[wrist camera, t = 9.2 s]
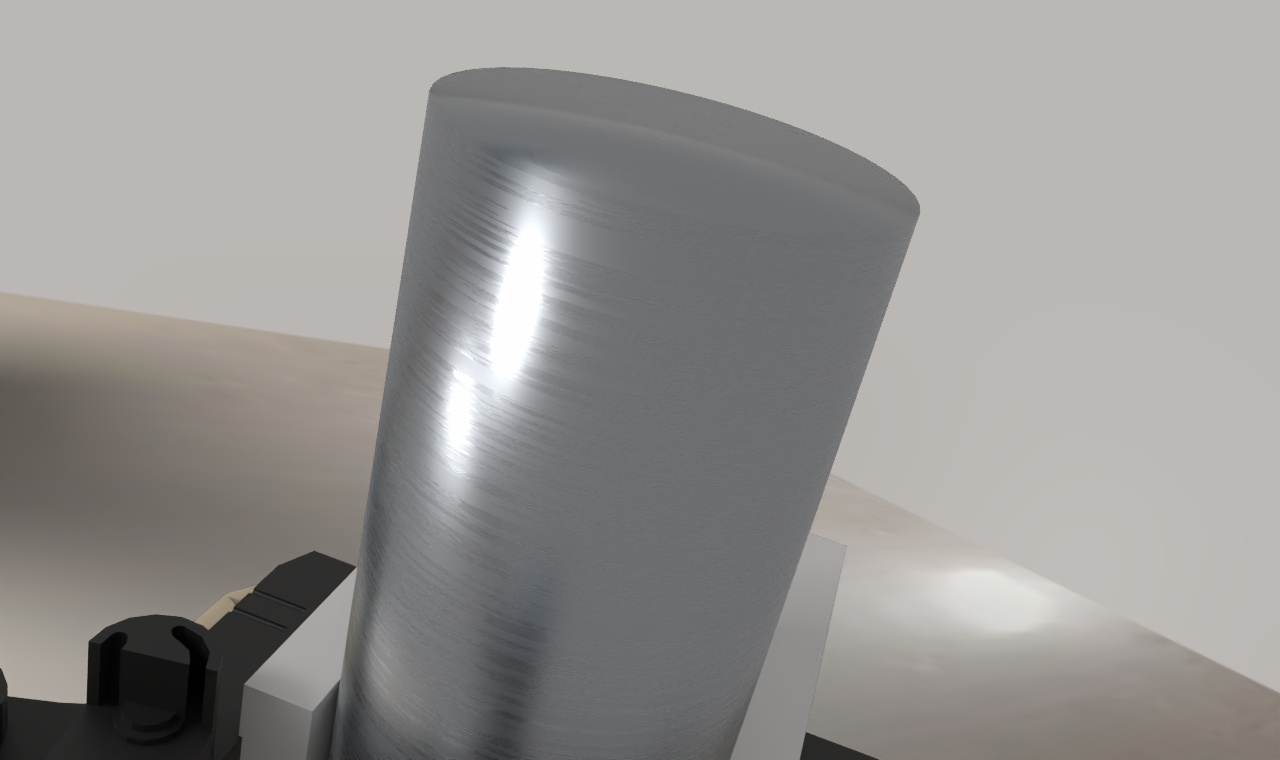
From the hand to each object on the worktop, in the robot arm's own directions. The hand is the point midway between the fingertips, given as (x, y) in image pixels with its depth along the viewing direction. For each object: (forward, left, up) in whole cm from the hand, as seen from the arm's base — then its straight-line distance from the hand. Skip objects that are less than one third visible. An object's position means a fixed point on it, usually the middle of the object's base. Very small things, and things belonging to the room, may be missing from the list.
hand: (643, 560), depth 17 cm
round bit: (+3, -5, -9) cm, 10 cm away
